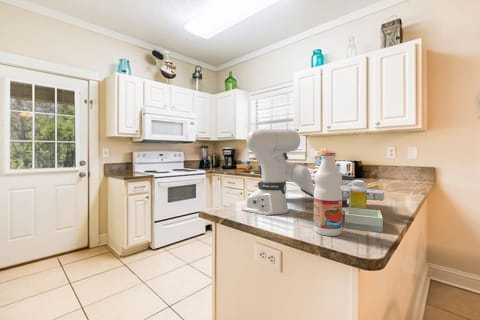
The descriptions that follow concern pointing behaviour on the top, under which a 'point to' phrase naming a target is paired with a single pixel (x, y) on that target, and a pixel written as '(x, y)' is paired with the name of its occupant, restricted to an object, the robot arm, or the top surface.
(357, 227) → the sage tray
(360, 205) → the supplement bottle
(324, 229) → the fruit juice
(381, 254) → the top surface
